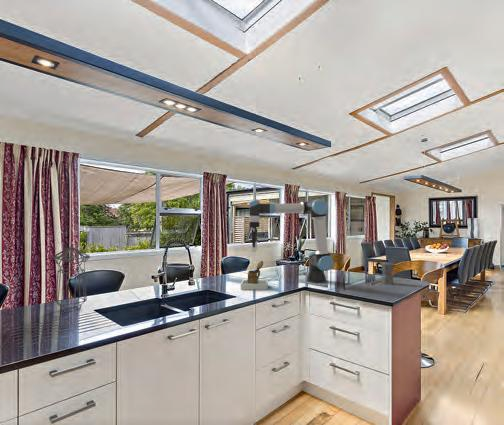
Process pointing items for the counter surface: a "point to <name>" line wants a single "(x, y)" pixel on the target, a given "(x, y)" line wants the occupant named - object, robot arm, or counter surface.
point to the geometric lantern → (70, 272)
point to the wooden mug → (254, 274)
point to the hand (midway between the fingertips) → (254, 250)
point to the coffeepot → (386, 272)
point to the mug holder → (255, 285)
